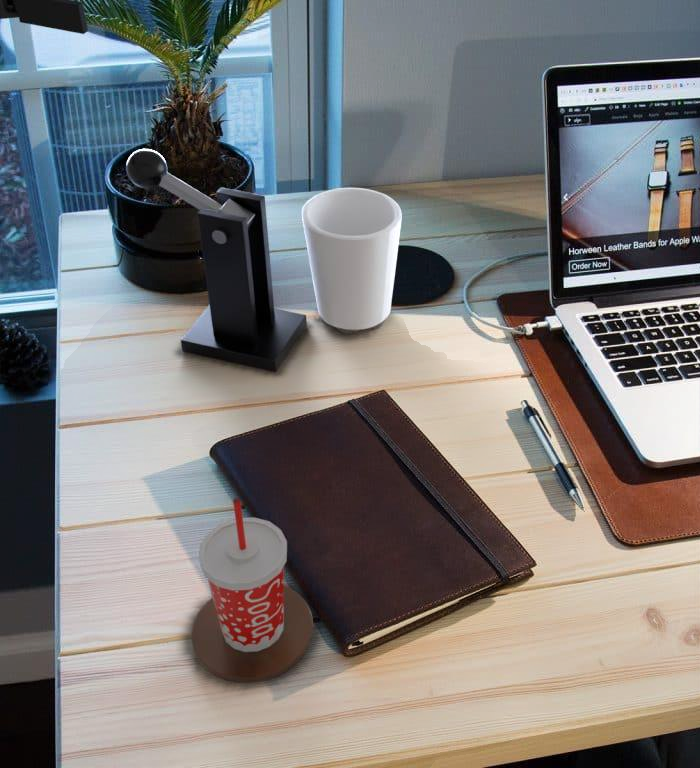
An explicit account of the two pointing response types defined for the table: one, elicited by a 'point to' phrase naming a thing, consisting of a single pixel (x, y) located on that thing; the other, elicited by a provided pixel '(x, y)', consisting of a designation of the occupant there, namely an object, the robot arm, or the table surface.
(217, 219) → the switch bracket
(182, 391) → the table surface
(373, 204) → the cup
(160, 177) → the switch lever
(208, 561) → the beverage cup
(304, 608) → the coaster
